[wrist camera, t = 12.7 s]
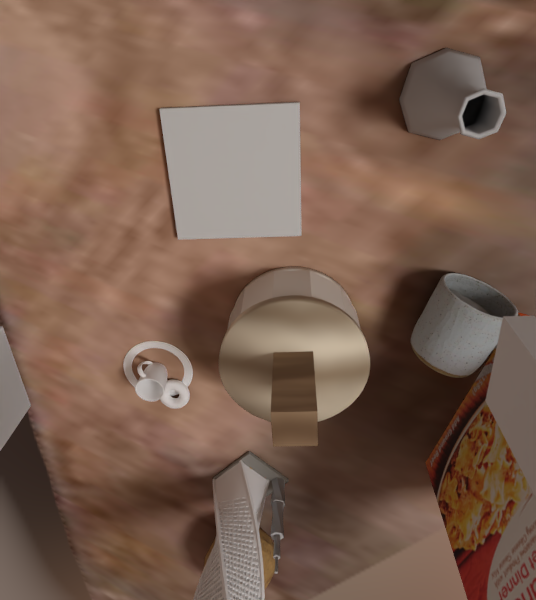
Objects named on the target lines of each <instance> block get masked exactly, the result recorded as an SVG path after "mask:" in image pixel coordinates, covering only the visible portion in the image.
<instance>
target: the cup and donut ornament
mask: <svg viewBox="0 0 536 600" xmlns="http://www.w3.org/2000/svg"><path fill="white" fill-rule="evenodd" d="M149 348H161V349H165V350H167V351H170V352H171V353H173V354H174V355H176V356H177V357H178V358H179V359H180V361H181V362H182V364H183V366H184V378H183V380H182V381H179V380H175V379H170V380H167V369H166V367H165V366H164V365H163V364H161V363H158V362H154V363H153V362H151V361H144V362H142V363H140V364H139V365H138V367H137V371H138V374H139V375H140V378H139V380H137V379H136V377H135V376H134V374H133V371H132V362H133V359H134V357H135V356H136V355H137V354H138V353H139V352H141V351H143V350H145V349H149ZM143 364H148V366H147V367H146V368H145V370H144V371H143V370H142V365H143ZM123 368H124V373H125V375H126V377H127V379H128V381H129V382H130V383H131V384H132V385H133V386H134V387H135V390H136V393H137V395H138V396H139V397H140V398H142V399H144V400H146V401H157V400H159V399H160V400H161V402H162V403H163V404H164V405H166V406H167V407H170V408H181V407H183V406H185V405H186V404H187V403H188V401H189V398H190V392H189V389H188V386H189V384H190V383H191V380H192V376H193V369H192V365H191V363H190V361H189V359H188V358H187V356H186V355H185V354H184V353H183V352H182V351H181V350H179V349H178V348H177V347H175V346H173V345H171V344H168V343H165V342H160V341H147V342H143V343H140V344H137V345H136V346H134V347H133V348H131V349H130V350H129V351H128V353H127V354H126V356H125V359H124V363H123ZM177 394H179V397H178V398H173V397H171V396H175V395H177Z"/></svg>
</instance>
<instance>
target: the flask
mask: <svg viewBox="0 0 536 600" xmlns="http://www.w3.org/2000/svg"><path fill="white" fill-rule="evenodd" d="M399 101H400V105H401V108H402V112H403V115H404V119H405V122H406V126H407V129H408V132H410V133H414V134H418V135H421V136H425V137H429V138H433V139H437V140H441V139H444V138H446V137H449V136H451V135H454V134H456V133H459V132H460V134H461V135H465V136H469V137H472V138H476V139H481V138H483V137H486V136H488V135H491V134H493V133H496V132H498V130H499V128H500V126H501V123H502V121H503V119H504V117H505V115H506V108H505V103H504V98H503V94H502V93H498V92H495V91H491V90H487V88H486V84H485V79H484V74H483V69H482V64H481V60H480V57H478V56H474V55H471V54H467V53H464V52H460V51H456V50H453V49H449V48H445V49H443V50H440V51H438V52H436V53H434V54H431V55H429V56H427V57H425V58H422V59H420V60H418V61H416V62H413V63H412V64H411V66H410V69H409V72H408V75H407V78H406V81H405V84H404V87H403V90H402V93H401V95H400V98H399Z"/></svg>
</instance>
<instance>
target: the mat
mask: <svg viewBox="0 0 536 600" xmlns="http://www.w3.org/2000/svg"><path fill="white" fill-rule="evenodd" d="M159 110H160V117H161V124H162V131H163V138H164V145H165V152H166V159H167V166H168V173H169V180H170V187H171V194H172V201H173V208H174V215H175V222H176V229H177V236H178V239H211V238H245V237H279V236H301V170H300V103H299V102H284V103H262V104H239V105H216V106H193V107H170V108H160V109H159Z"/></svg>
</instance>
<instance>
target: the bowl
mask: <svg viewBox="0 0 536 600" xmlns="http://www.w3.org/2000/svg"><path fill="white" fill-rule="evenodd" d="M288 295H301V296H309V297H314V298H318V299H322V300H324V301H327V302H329V303H332V304H333V305H335V306H337V307H339V308H340V309H342V310H343V311H345V312H346V313H347V314H348V315H349V316H350V317H352V318H353V319H354V321H355V322H356V323H357V324H358V326H359V327H360V325H359V321H358V316H357V312H356V310H355V308H354V307H353V305H352V303H351V300H350V298H349V296H348V294H347V293H346V291H345V290H344V289H343V287H342V286H341V285H340V284H339V283H338V282H336V281H335V280H334V279H333V278H331V277H330V276H328V275H326V274H324V273H322V272H320V271H317V270H314V269H310V268H305V267H293V266H292V267H282V268H277V269H273V270H270V271H268V272H265V273H263V274H261V275H259V276H258V277H256V278H255V279H253V280H252V281H251V282H250V283H249V284H247V286H246V287H245V288H244V289H243V290H242V292H241V293H240V295H239V296H238V298H237V301H236V303H235V306H234V308H233V310H232V312H231V314H230V318H229V323H228V328H229V326H230V325H231V323H232V322H233V321H234V320H235V319H236V318H237V317H238V316H239V315H240V314H241V313H242V312H244V311H245V310H247V309H248V308H250V307H251V306H253V305H255V304H257V303H259V302H261V301H264V300H267V299H270V298H275V297H279V296H288ZM228 328H227V329H228Z"/></svg>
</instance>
